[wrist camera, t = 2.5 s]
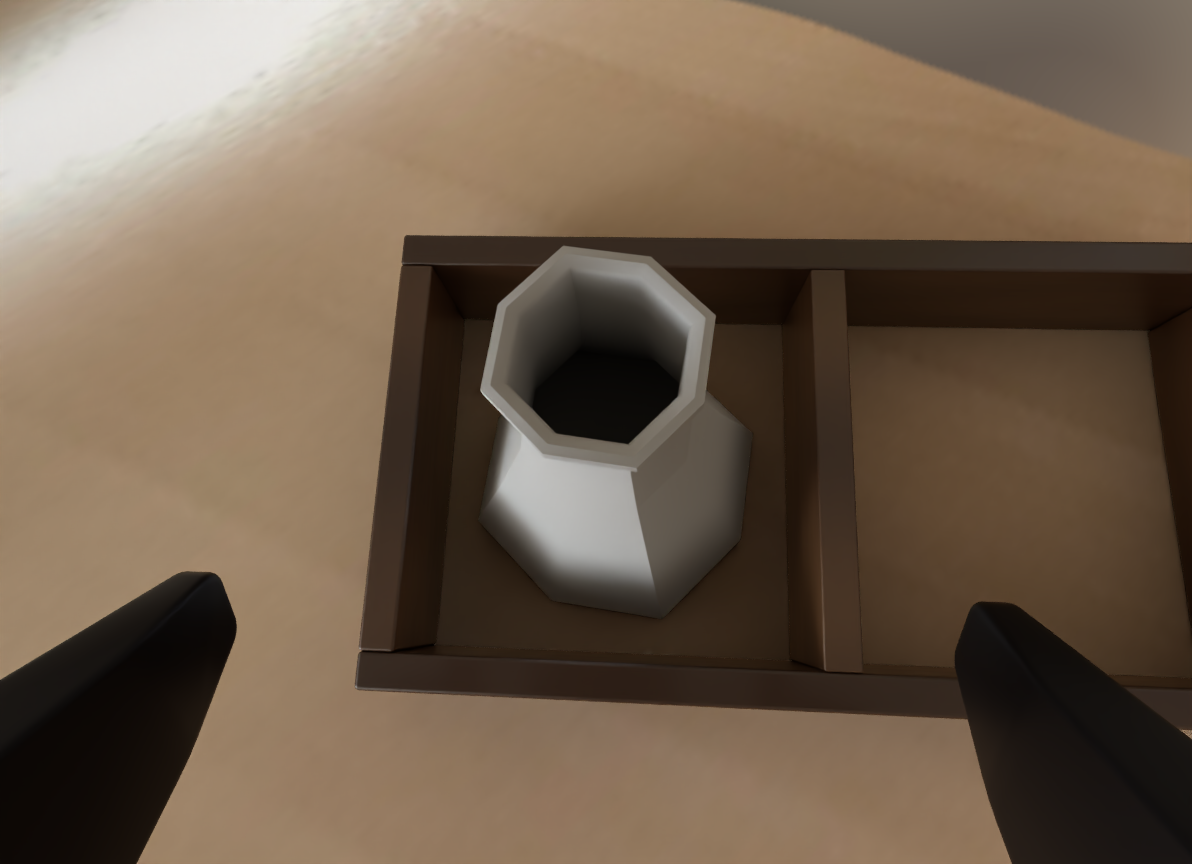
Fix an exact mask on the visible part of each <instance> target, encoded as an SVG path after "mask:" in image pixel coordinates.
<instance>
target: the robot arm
mask: <svg viewBox="0 0 1192 864" xmlns="http://www.w3.org/2000/svg"><path fill="white" fill-rule="evenodd" d="M236 630H237V624H236V618H235V615H234V612H233V610H232V607H231V604H230V602H229V599H228V596H227V594H226V591H225V589H224V586H223V583H222V581H221V579H220V578H219V577H218V576H217V575H216V574H215V573H211V572H191V571H186V572H181V573H178V574H176V575H174V576H172V577H171V578H169V579H167V580H166V581H164V582H162V583H161V584H159V585H157V586H156V587H154V588H152V589H151V590H149V591H147V592H146V593H144V594H142V595H141V596H139V597H137V598H136V599H134V600H132V601H131V602H129V603H127V604H126V605H124V606H122V607H121V608H119V609H117V610H116V611H114V612H113V613H111V614H109V615H108V616H106V617H104V618H103V619H101V620H99V621H98V622H96V623H94V624H93V625H91V626H89V627H88V628H86V629H84V630H83V631H81V632H79V633H78V634H76V635H74V636H73V637H71V638H69V639H68V640H66V641H64V642H63V643H61V644H59V645H58V646H56V647H54V648H53V649H51V650H49V651H48V652H46V653H44V654H43V655H41V656H39V657H38V658H36V659H34V660H33V661H31V662H29V663H28V664H26V665H24V666H23V667H21V668H19V669H18V670H16V671H14V672H13V673H11V674H9V675H8V676H6V677H4V678H3V679H1V680H0V864H137V862H138V860H139V858H140V856H141V854H142V852H143V850H144V848H145V846H146V844H147V842H148V840H149V838H150V836H151V834H152V832H153V830H154V828H155V826H156V824H157V822H158V820H159V818H160V816H161V814H162V812H163V810H164V808H165V806H166V804H167V802H168V800H169V798H170V796H171V794H172V792H173V790H174V788H175V786H176V784H177V782H178V780H179V778H180V776H181V774H182V771H183V769H184V767H185V765H186V763H187V761H188V759H189V757H190V754H191V752H192V750H193V747H194V745H195V742H196V740H197V738H198V735H199V732H200V730H201V727H202V725H203V722H204V719H205V717H206V714H207V711H208V709H209V706H210V704H211V701H212V698H213V696H214V693H215V690H216V688H217V685H218V682H219V680H220V677H221V675H222V672H223V669H224V667H225V664H226V661H227V659H228V656H229V654H230V651H231V648H232V646H233V643H234V640H235V636H236ZM955 670H956V675H957V679H958V682H959V686H960V690H961V694H962V698H963V702H964V706H965V710H966V714H967V718H968V722H969V726H970V730H971V734H972V738H973V742H974V746H975V749H976V753H977V757H978V761H979V765H980V769H981V773H982V777H983V781H984V784H985V788H986V791H987V795H988V798H989V801H990V804H991V807H992V810H993V813H994V816H995V819H996V822H997V824H998V827H999V830H1000V832H1001V835H1002V838H1003V841H1004V843H1005V846H1006V849H1007V851H1008V854H1009V857H1010V859H1011V862H1012V864H1192V739H1191V738H1189V737H1188V736H1187V735H1186V734H1184V733H1183V732H1182V731H1180V730H1179V729H1178V728H1176V727H1175V726H1174V725H1173V724H1171V723H1170V722H1169V721H1167V720H1166V719H1165V718H1163V717H1162V716H1161V715H1159V714H1158V713H1157V712H1156V711H1154V710H1153V709H1152V708H1150V707H1149V706H1148V705H1146V704H1145V703H1144V702H1142V701H1141V700H1140V699H1139V698H1137V697H1136V696H1135V695H1133V694H1132V693H1131V692H1129V691H1128V690H1127V689H1126V688H1124V687H1123V686H1122V685H1120V684H1119V683H1118V682H1116V681H1115V680H1114V679H1112V678H1111V677H1110V676H1109V675H1107V674H1106V673H1105V672H1103V671H1102V670H1101V669H1099V668H1098V667H1097V666H1095V665H1094V664H1093V663H1092V662H1090V661H1089V660H1088V659H1086V658H1085V657H1084V656H1082V655H1081V654H1080V653H1078V652H1077V651H1076V650H1075V649H1073V648H1072V647H1071V646H1069V645H1068V644H1067V643H1065V642H1064V641H1063V640H1062V639H1060V638H1059V637H1058V636H1056V635H1055V634H1054V633H1052V632H1051V631H1050V630H1048V629H1047V628H1046V627H1045V626H1043V625H1042V624H1041V623H1039V622H1038V621H1037V620H1035V619H1034V618H1033V617H1031V616H1030V615H1029V614H1028V613H1026V612H1025V611H1024V610H1022V609H1021V608H1019V607H1018V606H1016V605H1014V604H1011V603H1005V602H978V603H975V604H974V605H973V606H972V607H971V609H970V611H969V614H968V616H967V619H966V622H965V625H964V628H963V630H962V633H961V636H960V639H959V641H958V644H957V647H956V651H955Z"/></svg>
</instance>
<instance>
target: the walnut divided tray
mask: <svg viewBox="0 0 1192 864" xmlns="http://www.w3.org/2000/svg"><path fill="white" fill-rule="evenodd" d="M562 246H569V247H577V248H585V249H593V250H601V251H609V252H617V253H625V254H633V255H641V256H649V257H652V258H653V259H654V260H655V261H656V262H657V263H658V264H660V265H661V266H662V267H663V268H664V269H665V270H666V271H667V272H668V273H669V274H671V275H672V276H673V277H674V278H675V279H676V280H677V281H678V282H679V283H680V284H682V285H683V286H684V287H685V288H686V289H687V290H688V291H689V292H690V293H691V294H693V295H694V296H695V297H696V298H697V299H698V300H699V301H700V302H701V303H702V304H704V305H705V306H706V307H707V308H708V309H709V310H710V311H711V312H712V313H714V314H715V315H716V318H715V323H726V324H783V326H782V347H783V390H784V434H785V477H786V521H787V565H788V608H789V652H790V660H768V659H745V658H723V657H700V656H677V655H654V654H631V653H608V652H585V651H563V650H540V649H517V648H494V647H471V646H448V645H434V644H436V642H437V632H438V621H439V610H440V598H441V587H442V575H443V564H444V552H445V541H446V529H447V518H448V506H449V495H450V483H451V472H452V461H453V449H454V438H455V426H456V415H457V403H458V392H459V380H460V369H461V357H462V346H463V335H464V323H465V322H464V319H482V320H495V316H496V311H497V306H498V304H499V303H500V302H501V301H502V300H503V299H504V298H505V297H506V296H508V295H509V294H510V293H511V292H512V291H513V290H514V289H515V288H517V287H518V286H519V285H520V284H521V283H522V282H523V281H524V280H525V279H527V278H528V277H529V276H530V275H531V274H532V273H533V272H534V271H536V270H537V269H538V268H539V267H540V266H541V265H542V264H543V263H544V262H546V261H547V260H548V259H549V258H550V257H551V256H552V255H553V254H555V253H556V252H557V251H558V250H559V249H560V248H561V247H562ZM402 265H403V266H402V267H401V273H400V282H399V291H398V300H397V309H396V318H395V327H394V336H393V345H392V354H391V363H390V372H389V381H388V390H387V399H386V408H385V417H384V426H383V435H382V443H381V452H380V461H379V470H378V479H377V488H376V497H375V506H374V515H373V524H372V533H371V542H370V551H369V560H368V569H367V578H366V587H365V596H364V605H363V614H362V623H361V632H360V641H359V649H360V650H362V651H361V652H360V653H359V655H358V661H357V670H356V679H355V688H356V689H357V690H365V691H386V692H407V693H428V694H449V695H470V696H491V697H512V698H533V699H554V700H574V701H595V702H616V703H637V704H658V705H679V706H700V707H721V708H742V709H763V710H783V711H804V712H825V713H846V714H867V715H888V716H909V717H930V718H951V719H968V718H967V714H966V710H965V706H964V702H963V698H962V694H961V690H960V686H959V682H958V679H957V675H956V670H955V668H951V667H928V666H906V665H883V664H863V654H862V632H861V610H860V588H859V566H858V545H857V523H856V501H855V479H854V457H853V435H852V413H851V391H850V369H849V347H848V326H847V325H849V326H910V327H971V328H1032V329H1093V330H1150V331H1149V332H1148V340H1149V347H1150V354H1151V360H1152V367H1153V374H1154V381H1155V387H1156V394H1157V401H1158V407H1159V414H1160V421H1161V427H1162V434H1163V441H1164V447H1165V454H1166V461H1167V468H1168V474H1169V481H1170V488H1171V494H1172V501H1173V508H1174V514H1175V521H1176V528H1177V535H1178V541H1179V548H1180V555H1181V561H1182V568H1183V575H1184V581H1185V588H1186V595H1187V602H1188V608H1189V615H1190V622H1191V628H1192V243H1167V242H1061V241H954V240H847V239H741V238H634V237H528V236H421V235H407V236H405V237H404V245H403V254H402ZM791 660H792V661H791ZM1107 675H1109V676H1110V677H1111V678H1112V679H1114V680H1115V681H1116V682H1118V683H1119V684H1120V685H1122V686H1123V687H1124V688H1126V689H1127V690H1128V691H1129V692H1131V693H1132V694H1133V695H1135V696H1136V697H1137V698H1139V699H1140V700H1141V701H1142V702H1144V703H1145V704H1146V705H1148V706H1149V707H1150V708H1152V709H1153V710H1154V711H1156V712H1157V713H1158V714H1159V715H1161V716H1162V717H1163V718H1165V719H1166V720H1167V721H1169V722H1170V723H1171V724H1173V725H1174V726H1175V727H1176V728H1178V729H1181V730H1192V678H1180V677H1157V676H1134V675H1111V674H1107Z"/></svg>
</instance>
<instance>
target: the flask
mask: <svg viewBox="0 0 1192 864" xmlns="http://www.w3.org/2000/svg"><path fill="white" fill-rule="evenodd" d="M715 318H716V315H715V314H714V313H712V312H711V311H710V310H709V309H708V308H707V307H706V306H705V305H704V304H702V303H701V302H700V301H699V300H698V299H697V298H696V297H695V296H694V295H693V294H691V293H690V292H689V291H688V290H687V289H686V288H685V287H684V286H683V285H682V284H680V283H679V282H678V281H677V280H676V279H675V278H674V277H673V276H672V275H671V274H669V273H668V272H667V271H666V270H665V269H664V268H663V267H662V266H661V265H660V264H658V263H657V262H656V261H655V260H654V259H653V258H652V257H649V256H641V255H633V254H625V253H617V252H609V251H601V250H593V249H585V248H577V247H569V246H562V247H561V248H560V249H559V250H558V251H557V252H556V253H555V254H553V255H552V256H551V257H550V258H549V259H548V260H547V261H546V262H544V263H543V264H542V265H541V266H540V267H539V268H538V269H537V270H536V271H534V272H533V273H532V274H531V275H530V276H529V277H528V278H527V279H525V280H524V281H523V282H522V283H521V284H520V285H519V286H518V287H517V288H515V289H514V290H513V291H512V292H511V293H510V294H509V295H508V296H506V297H505V298H504V299H503V300H502V301H501V302H500V303H499V304H498V306H497V311H496V316H495V320H494V325H493V330H492V335H491V340H490V344H489V349H488V354H487V359H486V364H485V369H484V373H483V378H482V383H481V388H480V390H481V392H482V394H483V395H484V396H485V397H486V398H487V399H488V400H489V402H490V403H491V404H492V405H493V406H494V407H495V408H496V409H497V410H498V411H499V412H500V413H501V414H502V415H501V416H500V417H499V419H498V424H497V429H496V434H495V439H494V444H493V449H492V454H491V459H490V464H489V469H488V474H487V479H486V484H485V489H484V494H483V499H482V504H481V509H480V514H479V519H478V521H479V522H480V523H481V524H482V525H483V526H484V527H485V529H486V530H487V531H488V532H489V533H490V534H491V535H492V536H493V537H494V538H495V539H496V541H497V542H498V543H499V544H500V545H501V546H502V547H503V548H504V549H505V550H506V551H507V553H508V554H509V555H510V556H511V557H512V558H513V559H514V560H515V561H516V562H517V563H518V565H519V566H520V567H521V568H522V569H523V570H524V571H525V572H526V573H527V574H528V575H529V576H530V578H531V579H532V580H533V581H534V582H535V583H536V584H537V585H538V586H539V587H540V588H541V590H542V591H543V592H544V593H545V594H546V595H547V596H548V597H549V598H550V599H551V600H552V601H558V602H564V603H570V604H576V605H581V606H587V607H593V608H599V609H605V610H611V611H617V612H623V613H629V614H635V615H641V616H647V617H653V618H659V619H663V618H664V617H665V616H666V615H667V614H668V613H669V612H670V611H671V610H672V609H673V608H674V607H675V606H676V605H677V604H678V602H679V601H680V600H681V599H682V598H683V597H684V596H685V595H686V594H687V593H688V592H689V591H690V590H691V589H692V588H693V587H694V586H695V585H696V584H697V583H698V582H699V581H700V580H701V579H702V578H703V577H704V576H705V575H706V574H707V573H708V572H709V571H710V570H711V569H712V568H713V567H714V566H715V565H716V564H717V563H718V562H719V561H720V560H721V559H722V558H723V557H724V556H725V555H726V554H727V553H728V552H729V551H730V550H731V549H732V548H733V547H734V546H735V545H736V544H737V543H738V542H739V541H740V540H741V531H742V522H743V514H744V505H745V497H746V488H747V480H748V471H749V462H750V454H751V445H752V437H753V433H752V432H751V431H750V430H748V429H747V428H746V427H745V426H744V425H743V424H742V423H741V422H740V421H739V420H738V419H737V418H736V417H735V416H734V415H733V414H731V413H730V412H729V411H728V410H727V409H726V408H725V407H724V406H723V405H722V404H721V403H720V402H719V401H718V400H717V399H716V398H714V397H713V396H712V395H711V394H710V393H709V392H708V391H707V390H706V386H707V378H708V371H709V363H710V356H711V348H712V341H713V333H714V326H715Z"/></svg>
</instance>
